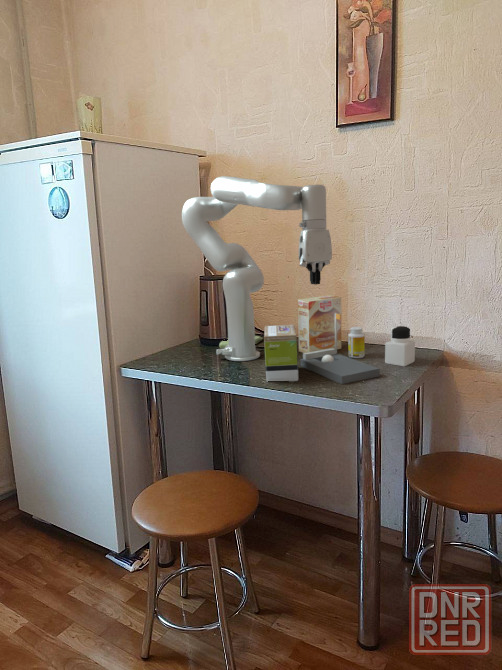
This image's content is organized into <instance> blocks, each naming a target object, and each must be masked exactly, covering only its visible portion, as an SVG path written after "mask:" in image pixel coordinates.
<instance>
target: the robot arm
mask: <svg viewBox="0 0 502 670" xmlns="http://www.w3.org/2000/svg"><path fill="white" fill-rule="evenodd" d="M210 193H211V195H212V196H195V197H192V198H189V199H187V200H186V201H185V203H184V204H183V207H182V209H181V210H182V211H181V221H182V222H181V223H182V225H183V227H184V230H185V232H186V233H187V234H188V236H190V238H191V239H192V240H193V242H194V244H196V246H197V247H198V249H199V250H200V252H201V253H202V254H203V256H204V257H205V259H206V260H207V261H208V263H209V265H210V266H211V267H212V268H213V269H214V270H215V271H216V272H226V271H228V272H227V273H226V274H225V275H224V276H223V279H222V289H223V294H224V298H225V305H226V317H227V318H226V319H227V320H226V321H227V323H226V324H227V339H228V342H229V345H226V347H225V348H224V349H221V348H218V349H215V352H216V355H217V356H218V355H219V356H220V355H222V356H224V358H225V359H226V360H229V361H233V362H246V361H253V360H257V359H259V358H260V356H261V352H260V351H258V350H256V345H255V336H256V333H255V332H256V330H255V313H254V303H253V299H252V297H251V294H252V293H253V294H254V293H256V292H258V291H260V290H261V289H262V287H264V283H265V277H264V274H263V271H262V270H261V268H260V267H259V265H258V264H257V263H256V262H255V260H254V259H253V258H252V256H251V255H250V253H249V252H248V250H247V249H246V248H245V247H244V246H243V245H240V244H239V243H238V242H237V243H236V242H226V241H225V240H224V239H223V238H222V237H221V235H220V234H219V233H218V231H217V230H216V229H215V228H214V227H213V226H211V225H210V224H209V223H208V222H215V221H216V222H217V221H220V220H221V219H223V218H224V217H225V216H227V215H228V214H229V213H230V212H231V211H232V210H234V209H235V208H236V207H237V206H238V205H242V206H246V207H247V206H248V207H253V208H255V207H257V208H262V209H268V210H273V211H274V210H275V211H299V210H300V211H301V218H302V219H301V222H299V223H298V227H300V228H301V229H302V230H300V234H299V238H298V239H299V240H298V241H299V242H298V261H299V267H302V268H306V269H307V271H308V272H309V281H310V284H311V285H315V286H317V285H320V284H321V279H322V278H321V272H322V271H323V269H324V268H325V266H328V265H330V264H331V260H332V258H333V248H332V238H331V234H330V230H329V229H327V188H326V186H325V185H324V184H308V185H307V184H306V185H304V186H298V185H288V184H286V185H285V184H284V185H283V184H282V185H281V184H273V183H265V182H259V180H257V179H252V178H244V177H243V178H242V177H236V176H226V175H222V176H218V177H215V179H214V180H213V181H212V182H211V184H210Z"/></svg>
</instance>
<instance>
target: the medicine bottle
mask: <svg viewBox="0 0 502 670" xmlns="http://www.w3.org/2000/svg"><path fill="white" fill-rule="evenodd" d="M384 344H385V345H384V363H385V364H387V365H394V366H401V367H406V366H409V365H411V364H414V363H415V358H416V356H415V355H416V341H415V340H411V329H410V328H409V327H408V326H405V325H404V326H403V325H397V326H396V325H395V326H393V327H391V328H390V340H389V341H386V342H384Z"/></svg>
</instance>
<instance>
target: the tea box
mask: <svg viewBox="0 0 502 670" xmlns="http://www.w3.org/2000/svg"><path fill="white" fill-rule="evenodd" d="M263 337H264V338H263V344H264V361H265V365H264V366H265V378H266V379H265V380H266V382H267V383H269V382H268V381H289V382H298V381H299V360H298V359H299V358H298V357H299V355H298V352H299V350H298V337H297V332H296V328H295V324H282V325H280V324H279V325H264V335H263Z"/></svg>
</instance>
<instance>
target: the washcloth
mask: <svg viewBox="0 0 502 670" xmlns="http://www.w3.org/2000/svg"><path fill="white" fill-rule="evenodd" d="M262 340H263V341H264V338H263V337H261V336H259V335H255V344H256V345H257V344H259V342H261V341H262ZM226 345H229V342H228V340H227V341H223V340H222V341H220V342H219V345H218V347H219V349H224V348H225V347H226Z"/></svg>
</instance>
